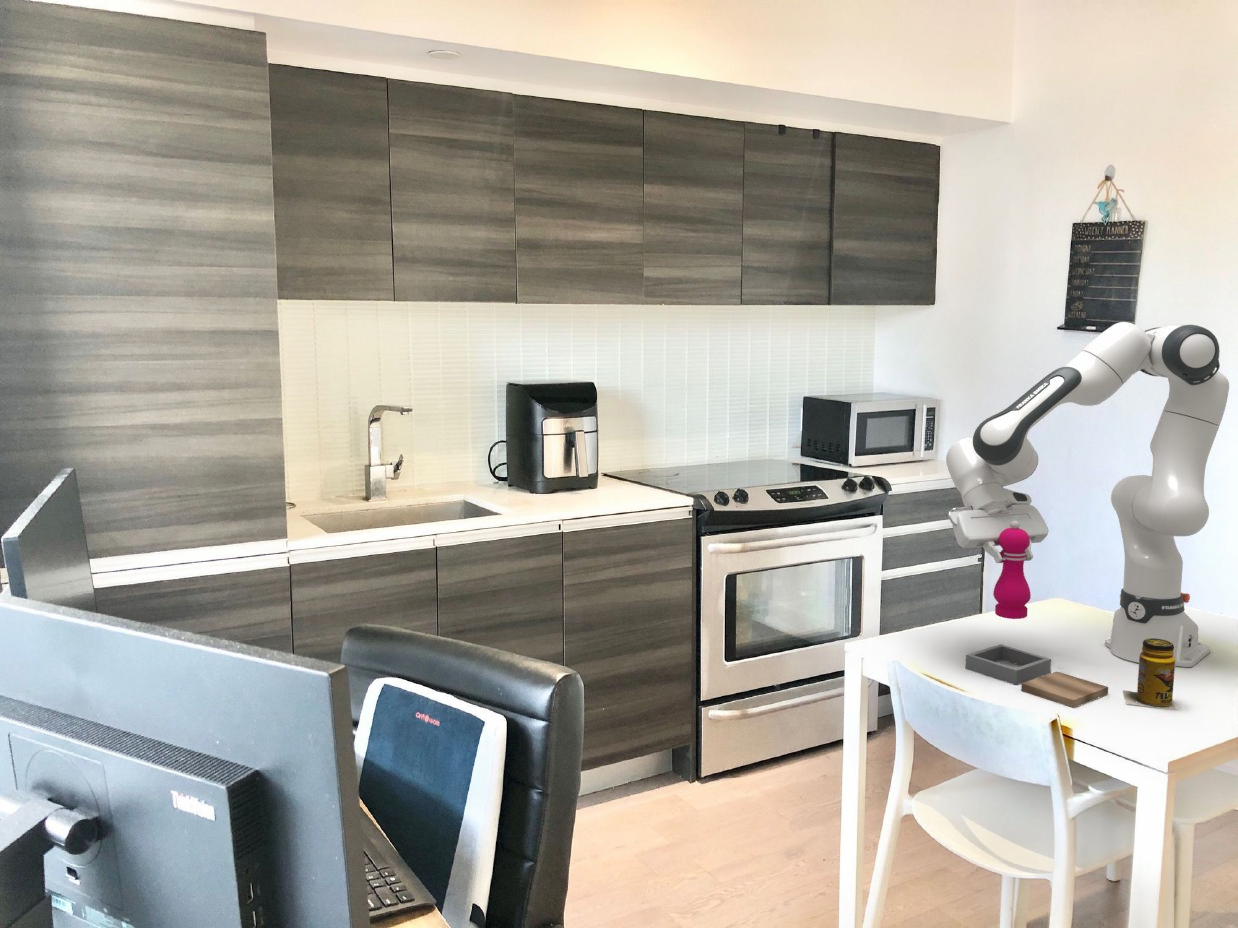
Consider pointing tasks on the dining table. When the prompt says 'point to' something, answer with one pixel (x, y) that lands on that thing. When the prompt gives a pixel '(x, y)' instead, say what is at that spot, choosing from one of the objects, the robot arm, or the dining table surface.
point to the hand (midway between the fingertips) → (1015, 560)
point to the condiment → (1154, 676)
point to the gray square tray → (1029, 666)
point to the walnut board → (1064, 689)
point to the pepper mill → (1012, 574)
